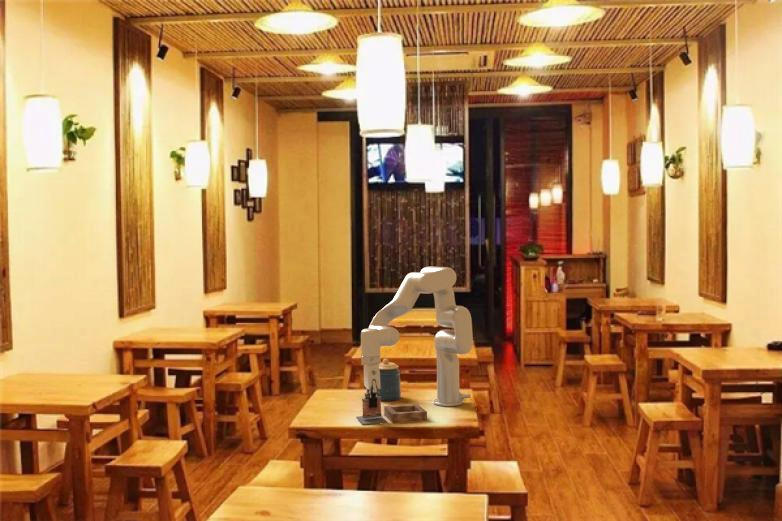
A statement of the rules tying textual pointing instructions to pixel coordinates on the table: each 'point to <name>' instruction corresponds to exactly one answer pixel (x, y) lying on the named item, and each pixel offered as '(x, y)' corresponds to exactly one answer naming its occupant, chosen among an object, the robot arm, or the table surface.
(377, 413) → the lighter
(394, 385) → the canister
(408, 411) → the frame
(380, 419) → the charcoal mat
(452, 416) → the table surface
